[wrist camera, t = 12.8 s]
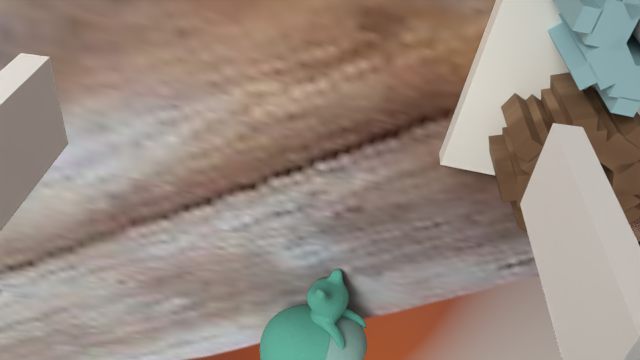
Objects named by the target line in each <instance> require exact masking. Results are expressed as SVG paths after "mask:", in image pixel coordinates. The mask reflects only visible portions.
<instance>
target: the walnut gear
mask: <svg viewBox="0 0 640 360" xmlns="http://www.w3.org/2000/svg"><path fill="white" fill-rule="evenodd" d="M501 109H502V112H503V115H504V119H505V122H506V125H507V127H502V135H494V136H488V137H489V152H490V156H491V160H492V164H493V168H494V172H495V176H496V180H497V184H498V188H499V192H500V196H501V200H502V202H507V201H511V203H512V207H513V211H514V214H515V218H516V222H517V225H518V227H520V228H521V229H523V230H525V231H526V232H527V228H526V225H525V221H524V217H523V213H522V210H521V206H520V203H521V200H522V198H523V196H524V193H525V191H526V188H527V186H528V183H529V181H530V178H531V176H532V173H533V171H534V169H535V166H536V164H537V161H538V159H539V156H540V154H541V151H542V149H543V146H544V144H545V142H546V139H547V137H548V134H549V132H550V129H551V127H552V124H553V123H556V124H563V125H571V126H579V127H583V128H584V131H585V133H586V135H587V137H588V139H589V141H590V143H591V145H592V147H593V149H594V151H595V154H596V156H597V158H598V160H599V162H600V164H601V166H602V168H603V170H604V172H605V175H606V177H607V179H608V181H609V183H610V185H611V187H612V189H613V191H614V193H615V195H616V198H617V200H618V202H619V204H620V206H621V208H622V210H623V212H624V214H625V216H626V219H627V221H628V223H629V224H631V223H632V222H634V221H635V220H636V219H638V218H639V217H640V205H639V203H640V198H639V196H638V194H640V115H639V114H638V112H636V114H635V115H634V117H630V116H625V115H620V114H615V113H611V112H610V111H609V109H608V107H607V106H606V104H605V102H604V101H603V99H602V97H601V96H600V94H599V92H598V91H597V90H596V89H594V88H593V87H591V86H589V87H588V88H587V89H586V90H584V89H582V90H579V88H578V86H577V85H576V83H575V81H574V79H573V77H572V76H571V74H570V72H569V73H562V74H555V75H550V88H548V89H541V100H540V99H539V98H537V97H536V96H534V95H533V94H531V95H530V96H529V97H528V98H527V99H526V100H525V99H523V98H522V97H520V96H519V95H517V94H516V93H514V94H513V95H512V96H511V97H510V98H509V99H508V100H507V101H506V102H505V103H504V104H503V105H502V106H501Z"/></svg>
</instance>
